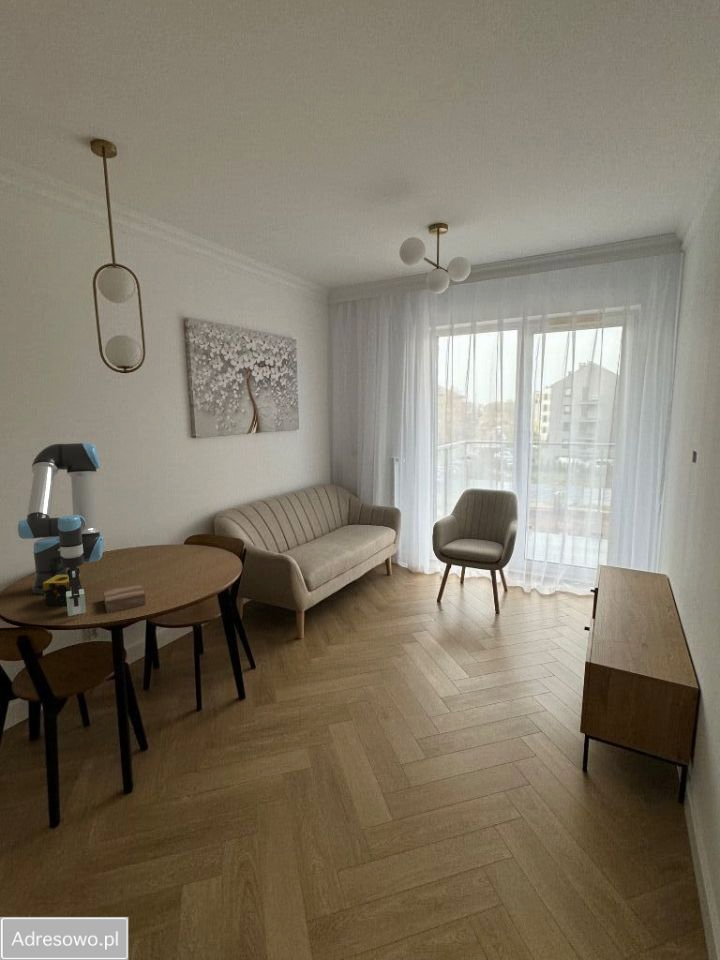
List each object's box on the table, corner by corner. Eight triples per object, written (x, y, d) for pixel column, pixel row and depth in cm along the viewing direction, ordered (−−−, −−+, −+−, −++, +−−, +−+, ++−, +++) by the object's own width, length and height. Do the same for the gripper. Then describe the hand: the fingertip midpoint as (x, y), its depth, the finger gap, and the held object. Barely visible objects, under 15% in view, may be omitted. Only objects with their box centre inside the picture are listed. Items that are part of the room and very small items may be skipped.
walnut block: (104, 601, 194) (103, 589, 193) (140, 594, 202) (139, 583, 201) (107, 613, 182) (106, 601, 182) (145, 605, 190) (144, 594, 189)
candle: (83, 596, 198) (81, 573, 197) (69, 606, 188) (67, 582, 187) (59, 596, 198) (57, 574, 196) (44, 606, 188) (42, 582, 186)
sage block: (67, 610, 184) (66, 591, 182) (85, 607, 187) (83, 588, 186) (68, 616, 179) (66, 596, 177) (86, 612, 182) (84, 593, 181)
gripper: (60, 549, 188) (64, 598, 191) (60, 565, 167) (65, 621, 170) (81, 546, 192) (85, 595, 195) (84, 562, 171) (89, 616, 174)
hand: (76, 607), depth 182 cm, fingers open, 13 cm apart
